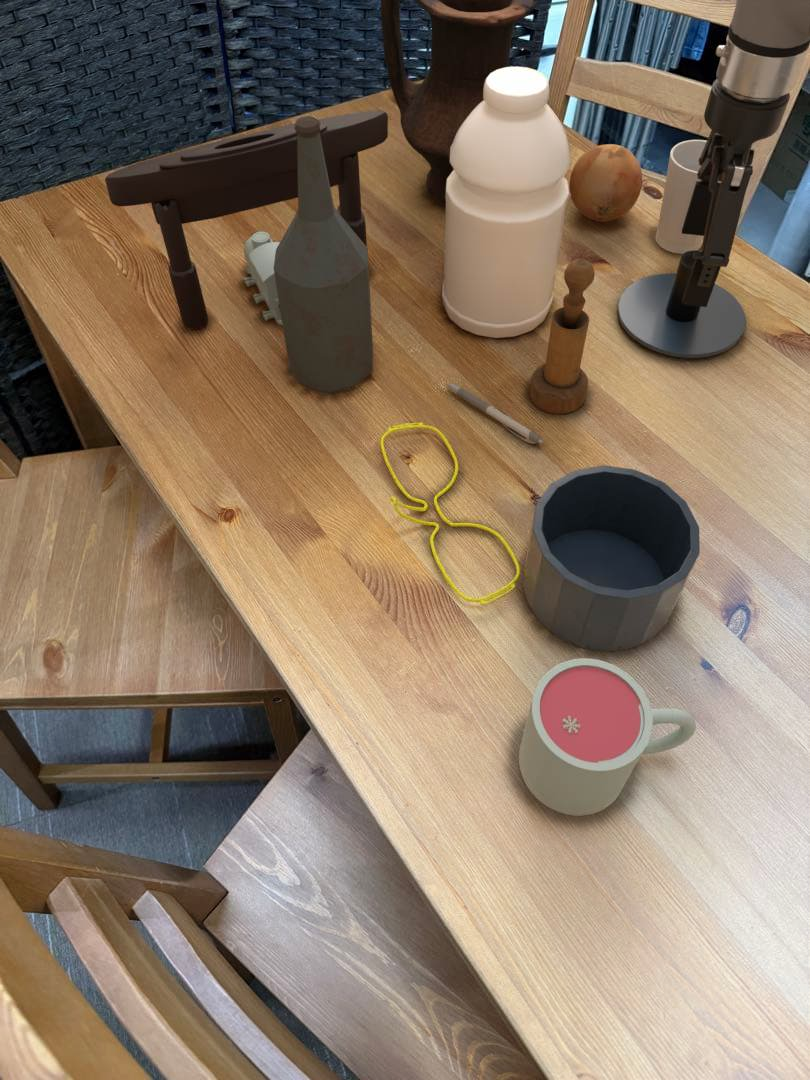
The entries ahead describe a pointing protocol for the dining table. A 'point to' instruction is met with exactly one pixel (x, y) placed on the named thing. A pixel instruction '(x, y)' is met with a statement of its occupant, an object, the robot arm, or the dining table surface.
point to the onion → (605, 182)
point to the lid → (680, 315)
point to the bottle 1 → (323, 281)
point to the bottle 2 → (505, 207)
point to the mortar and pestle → (565, 348)
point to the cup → (679, 197)
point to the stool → (243, 194)
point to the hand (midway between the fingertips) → (693, 267)
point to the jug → (448, 72)
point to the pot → (608, 557)
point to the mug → (590, 735)
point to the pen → (496, 415)
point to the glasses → (481, 600)
